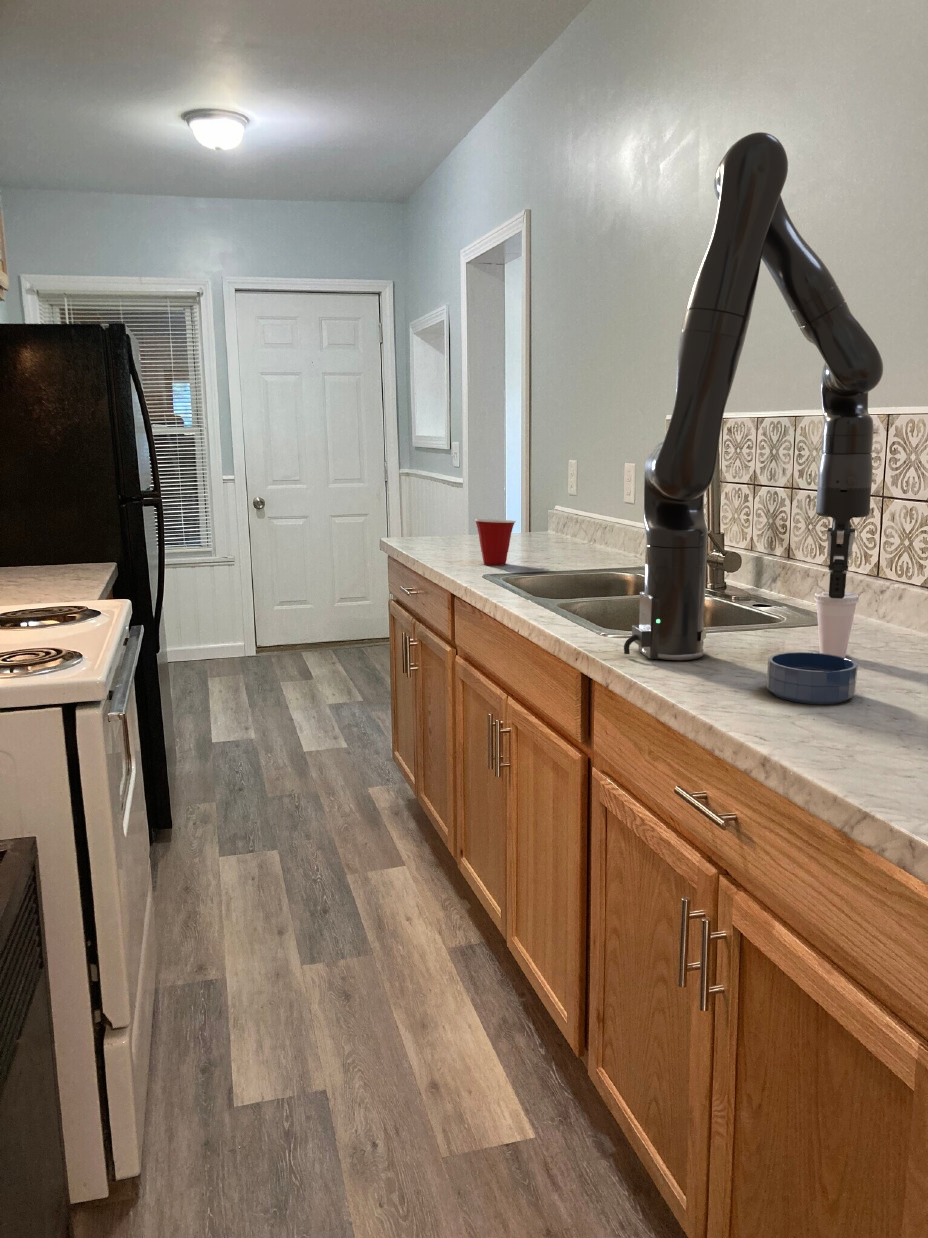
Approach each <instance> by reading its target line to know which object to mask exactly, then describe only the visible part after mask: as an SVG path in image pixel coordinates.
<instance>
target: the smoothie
mask: <svg viewBox="0 0 928 1238" xmlns="http://www.w3.org/2000/svg"><path fill="white" fill-rule="evenodd" d="M859 597H860V595H859V594H857V593H855V592H851V591H850V592H849V591H845V596H844V598H842V599H840V598H830V597H829V590H823V591H817V592H815V594H814V598H813V600H814V601H816V602H815V603H816V613H817V614H816V616H817V627H818V629H817V631H818V646H819V647H818V648H819V653H823V654H830V655H836V656H840V657H844V658H847V657H846V656H847V651H848V646H849V642H850V638H851V637H850V636H851V633H852V632H851V631H852V626H853V622H854V618H855V617H854V616H855V612H856V608H857V604H858V603H859V602H860V601H859V599H860V598H859Z"/></svg>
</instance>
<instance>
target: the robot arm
mask: <svg viewBox="0 0 928 1238" xmlns="http://www.w3.org/2000/svg"><path fill="white" fill-rule="evenodd" d="M788 160H789V159H788V155H787V151H786V150H785V147H784V145H783V144H782V143H781V142H780V140H779V139H778V138H777V137H775V136H774V135H772V134H771V133H769V132H763V131H759V132H752V133H749V134H747V135H745V136H743V137H741V138H740V139H738V140H737V141H736V142H734V144H732V145H731V146H730V148H729V149H728V150H727V151H726V152H725V154H724V156H723V157H722V159H721V160H720V162H719V164H718V166H717V167H716V170H715V173H714V178H713V189H714V193H715V196H716V198H717V200H718V204H717V210H716V215H715V224H714V227H713V230H712V231H713V232H712V235H711V239H710V241H709V243H708V244H709V245H708V247H707V249H706V252H705V254H704V256H703V259H702V262H701V264H700V267H699V269H698V272H697V274H696V277H695V280H694V283H693V285H692V288H691V291H690V294H689V297H688V301H687V305H686V307H685V312H684V316H683V321H682V324H681V328H680V333H679V339H678V346H677V353H676V354H677V355H676V387H675V388H676V389H675V399H674V405H673V409H672V413H671V417H670V420H669V423H668V426H667V430H666V432H665V435H664V438H663V441H661V442H660V443H658V444H657V445H655V446H654V447H653V448H652V450H650V453H649V454H648V456H647V458H646V461H645V464H644V465H645V466H644V476H643V523H644V531H645V551H644V552H645V553H644V555H645V557H644V587H643V588H644V589H643V590H644V591H640V592H639V608H638V609H639V610H638V611H639V612H638V613H639V614H638V624H632V625H631V636H630V637H628V638H627V639H626V640H625V642H624V644H623V654H624V655H630V654H631V653H630V652H631V651H630V646H631V645H632V644H633V643H635V644H636V645H638V647H637V648H638V652H640V653H641V654H642V655H644V656H645V657H646V658H648V659H650V660H664V661H689V660H696V659H699V658H702V657H703V656H704V640H705V639H706V638H707V628H705V605H706V586H707V585H706V580H707V561H708V558H707V557H708V537H709V536H708V534H709V533H708V526H707V523H706V518H705V508H704V507H705V493H706V491H707V490H708V489H709V488H710V486H711V485H712V483H713V481H714V478H715V474H716V467H717V462H718V453H719V445H720V439H721V438H720V437H721V431H722V425H723V419H724V414H725V409H726V406H727V402H728V399H729V396H730V393H731V390H732V387H733V383H734V380H735V376H736V373H737V370H738V366H739V361H740V359H741V355H742V352H743V348H744V345H745V340H746V337H747V332H748V328H749V324H750V320H751V316H752V311H753V306H754V305H753V304H754V301H755V297H756V296H755V295H756V291H757V286H758V280H759V275H760V269H761V263H762V262H763V264H764V265H765V267H766V269H767V270H768V272H769V274H770V275H771V277H772V279H773V281H774V283H775V285H776V287H777V289H778V290H779V292H780V294H781V296H782V298H783V300H784V302H785V303H786V305H787V307H788V309H789V311H790V313H791V316H792V317H793V318H794V321H795V322H796V325H797V327H798V328H799V331H800V332H801V334H802V335H803V336H804V338H805V339H806V340H807V341H808V342H809V343H811V344H813V345H814V347H816V349H817V350H818V352H819V354H820V355H821V357H822V359H823V360H824V364H823V367H822V371H821V377H820V393H821V394H820V395H821V407H822V415H823V429H822V437H821V438H822V439H821V454H820V460H819V466H818V473H817V474H818V476H817V489H816V490H817V491H816V506H815V513H816V515H817V516H819V517H822V518H832V520H833V523H832V527H827V529H826V541H827V550H826V557H827V559H828V560H829V564H828V571H829V572H828V573H829V586H828V591H829V597H830V598H840V599H842V598H844V596H845V592H846V587H847V586H846V585H847V574H848V572H849V564H850V560H851V559H852V558H853V557H852V556H853V545H854V542H855V539H856V528H855V527H853V526H852V523H851V520H852V519H854V518H856V519H860V518H866V517H868V516H869V515H870V513H871V512H870V511H871V498H872V497H871V496H872V483H873V470H874V469H873V445H874V444H873V443H874V427H875V426H874V420H873V417H872V416H871V415H870V413H869V392H871V391H872V390H874V389H875V388H876V387H877V386H878V385H879V383H880V382H881V380H882V378H883V374H884V363H883V358H882V356H881V353H880V351H879V349H878V348H877V346H876V344H875V343H874V341H873V339H872V338H871V336H869V334H868V333H867V331H866V330H865V329H864V327H863V326H862V325H861V323H860V322H859V321H858V319H856V318H855V316H854V315H853V313H852V312H851V310H850V307H849V305H848V302H847V301H846V299H845V297H844V295H843V293H842V291H841V290H840V288H839V286H838V284H837V282H836V281H835V278H834V277H833V275H832V273H831V271H830V270H829V269H828V267H827V265H826V264H825V263H824V262H823V260H822V259H821V258H820V257H819V255H818V254H817V253H816V252H815V251H814V249H813V248H812V247H811V246H810V245H809V244H808V243H807V241H806V240H805V239H804V238H803V237H802V235H801V233H800V232H799V230H798V229H797V227H796V226H795V224H794V223H793V221H792V218H791V217H790V216H789V213H788V211H787V209H786V206H785V204H784V201H783V198H782V195H781V194H782V192H783V189H784V186H785V184H786V182H787V178H788V172H789V161H788Z"/></svg>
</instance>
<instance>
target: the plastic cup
mask: <svg viewBox="0 0 928 1238" xmlns="http://www.w3.org/2000/svg"><path fill="white" fill-rule="evenodd" d="M474 522H475V524H476V528H477V534H478V538H479V545H480V552H481V555H482V562H483V565H485V566H492V567H493V566H505V565H506V563H507V561H508V560H507V558H508V553H509V549H510V543H511V536H512V532H513V528H514V526H515V523H516V522H517V521H516V520H512V519H511V520H510V519H496V518H495V519H494V518H492V519H491V518H475V519H474Z"/></svg>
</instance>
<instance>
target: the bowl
mask: <svg viewBox="0 0 928 1238" xmlns="http://www.w3.org/2000/svg"><path fill="white" fill-rule="evenodd" d="M766 671H767V672H766V688H767V690H768V691H769V692H771V693H772V694H773V695H774V696H776V697H777V698H780V699H782V700H787V701H789V702H793V703H794V702H795V703H800V704H808V705H834V704H841V703H844V702H846V701H847V700H849V699H851V698H854V697H855V695H856V692H857V678H858V663H857V662H856V661H855V660H853V659H850V658H847V657H845V658H844V657H840V656H836V655H830V654H823V653H820V652H809V651H790V652H789V651H787V652H781V653H776V654H772V655H770V656H769V657H768V658H767V670H766Z"/></svg>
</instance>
